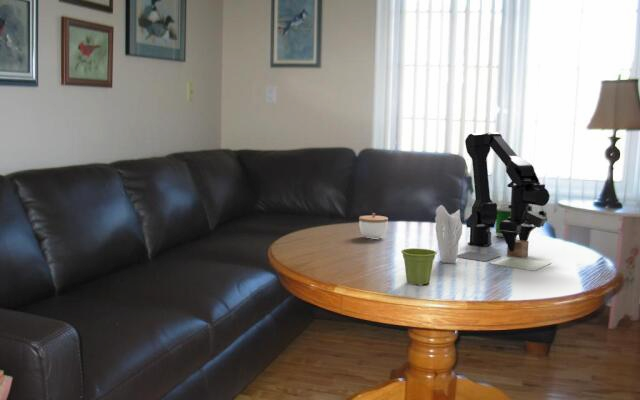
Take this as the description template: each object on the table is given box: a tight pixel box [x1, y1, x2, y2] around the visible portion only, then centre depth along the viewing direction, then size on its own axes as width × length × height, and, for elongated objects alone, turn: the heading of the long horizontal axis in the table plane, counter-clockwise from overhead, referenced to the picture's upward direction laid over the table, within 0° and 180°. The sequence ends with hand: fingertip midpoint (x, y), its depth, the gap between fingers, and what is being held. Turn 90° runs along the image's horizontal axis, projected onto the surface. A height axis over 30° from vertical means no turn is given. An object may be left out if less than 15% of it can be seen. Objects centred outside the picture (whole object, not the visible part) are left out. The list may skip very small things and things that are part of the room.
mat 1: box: [457, 250, 501, 263], centre depth 215 cm, size 11×11×1 cm
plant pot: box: [400, 247, 437, 286], centre depth 179 cm, size 9×9×9 cm
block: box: [506, 238, 530, 258], centre depth 218 cm, size 5×5×5 cm
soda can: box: [495, 204, 511, 238], centre depth 252 cm, size 8×8×12 cm
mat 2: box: [490, 256, 553, 272], centre depth 206 cm, size 14×14×1 cm
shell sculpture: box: [434, 204, 463, 264], centre depth 205 cm, size 8×8×18 cm
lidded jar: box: [358, 212, 389, 238], centre depth 246 cm, size 11×11×9 cm
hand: (517, 249), depth 218 cm, fingers open, 9 cm apart
